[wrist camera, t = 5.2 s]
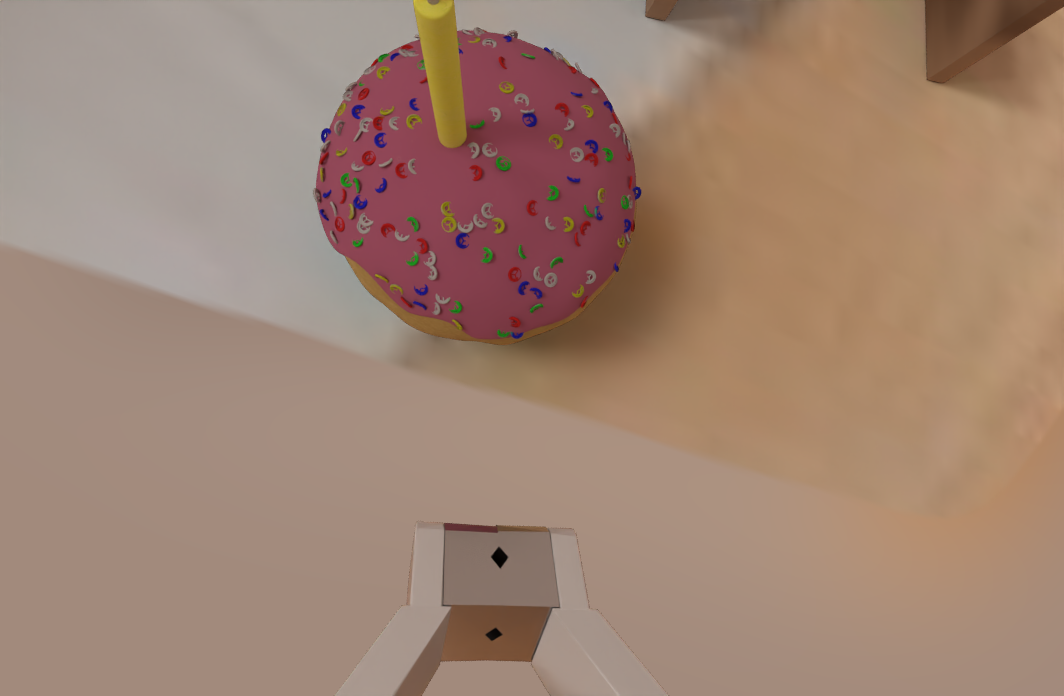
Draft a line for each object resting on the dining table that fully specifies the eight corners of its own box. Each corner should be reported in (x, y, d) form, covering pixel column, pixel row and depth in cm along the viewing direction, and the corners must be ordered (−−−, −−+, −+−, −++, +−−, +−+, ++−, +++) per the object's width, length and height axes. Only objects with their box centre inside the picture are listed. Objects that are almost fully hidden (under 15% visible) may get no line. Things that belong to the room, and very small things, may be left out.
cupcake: (315, 338, 19) (195, 203, 8) (360, 93, 21) (311, -332, 9) (574, 376, 21) (790, 312, 10) (600, 147, 22) (816, -155, 11)
